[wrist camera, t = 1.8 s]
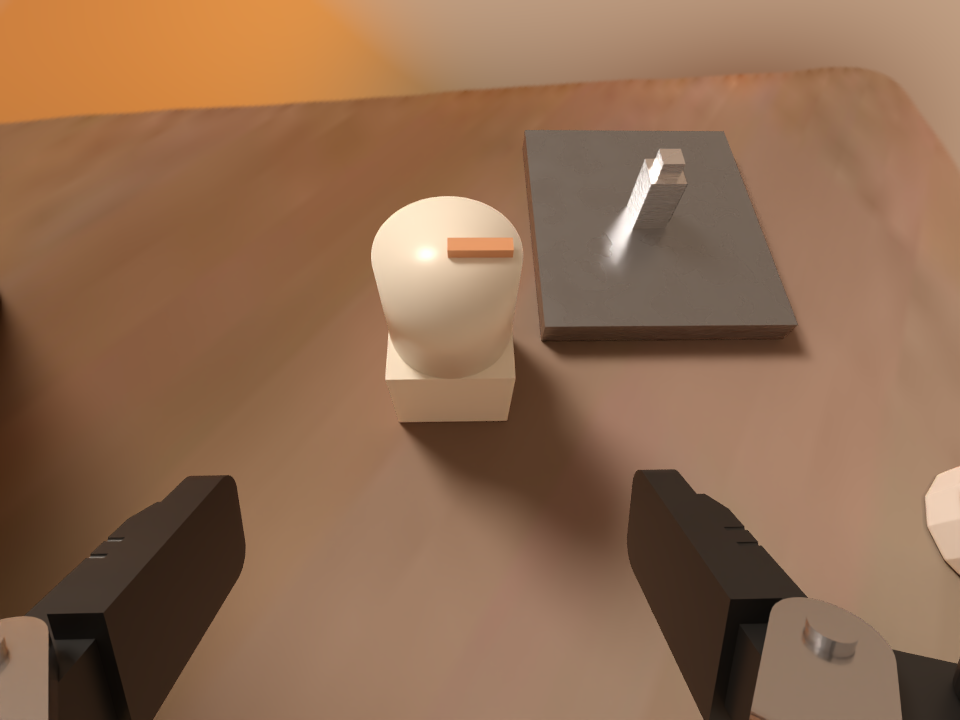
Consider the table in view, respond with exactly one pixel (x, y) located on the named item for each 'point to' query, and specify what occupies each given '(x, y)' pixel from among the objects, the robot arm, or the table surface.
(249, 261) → the table surface
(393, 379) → the knob
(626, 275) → the grey base with post
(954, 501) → the white cup
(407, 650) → the table surface
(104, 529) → the table surface
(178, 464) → the table surface
